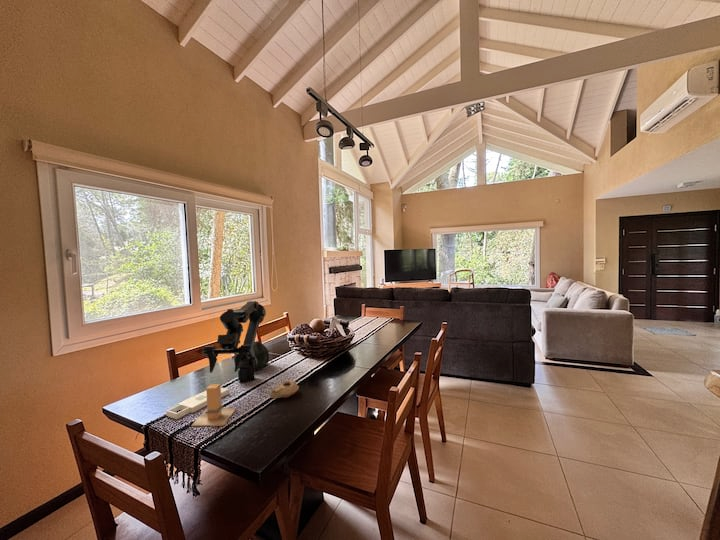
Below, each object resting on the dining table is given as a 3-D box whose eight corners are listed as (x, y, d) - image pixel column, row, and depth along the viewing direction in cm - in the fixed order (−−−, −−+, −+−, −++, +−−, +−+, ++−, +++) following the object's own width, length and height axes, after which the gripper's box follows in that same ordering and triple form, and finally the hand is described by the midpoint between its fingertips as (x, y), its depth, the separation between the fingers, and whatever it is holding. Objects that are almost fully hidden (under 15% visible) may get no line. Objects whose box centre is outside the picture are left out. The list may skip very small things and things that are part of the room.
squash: (234, 355, 157) (239, 338, 149) (262, 351, 166) (268, 334, 157) (239, 379, 148) (244, 363, 140) (268, 373, 157) (275, 357, 149)
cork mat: (206, 410, 111) (206, 409, 111) (236, 409, 111) (236, 407, 111) (191, 426, 100) (190, 425, 100) (223, 425, 100) (223, 424, 100)
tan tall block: (211, 413, 108) (210, 383, 107) (223, 412, 108) (222, 383, 107) (205, 419, 103) (204, 389, 103) (218, 419, 103) (217, 388, 103)
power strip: (215, 390, 127) (215, 384, 127) (229, 393, 124) (228, 387, 124) (164, 415, 108) (164, 408, 107) (178, 420, 104) (178, 412, 104)
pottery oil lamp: (263, 398, 118) (266, 380, 122) (289, 399, 126) (291, 382, 129) (274, 397, 113) (276, 378, 116) (301, 398, 120) (302, 380, 123)
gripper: (203, 326, 117) (189, 363, 107) (250, 324, 118) (241, 361, 107) (213, 340, 126) (201, 376, 115) (257, 339, 126) (249, 374, 116)
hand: (222, 372), depth 113 cm, fingers open, 9 cm apart
